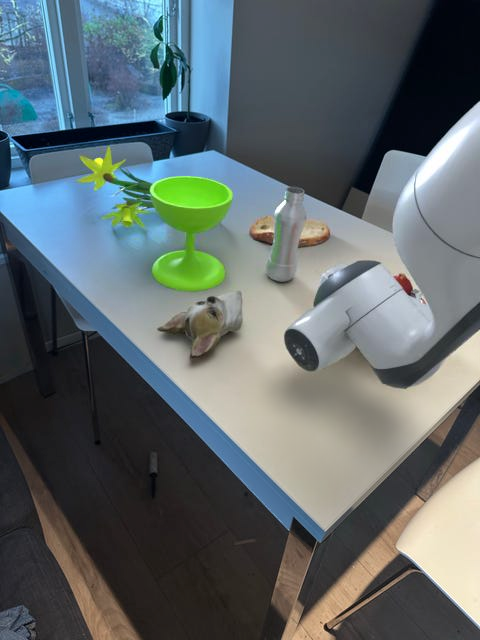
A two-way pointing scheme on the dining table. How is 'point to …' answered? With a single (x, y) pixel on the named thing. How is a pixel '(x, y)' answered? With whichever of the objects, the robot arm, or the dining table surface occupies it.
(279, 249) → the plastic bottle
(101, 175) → the daffodil flowers
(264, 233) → the bread slice
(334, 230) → the dining table surface
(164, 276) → the wineglass
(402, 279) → the onion
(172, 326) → the ceramic sculpture
